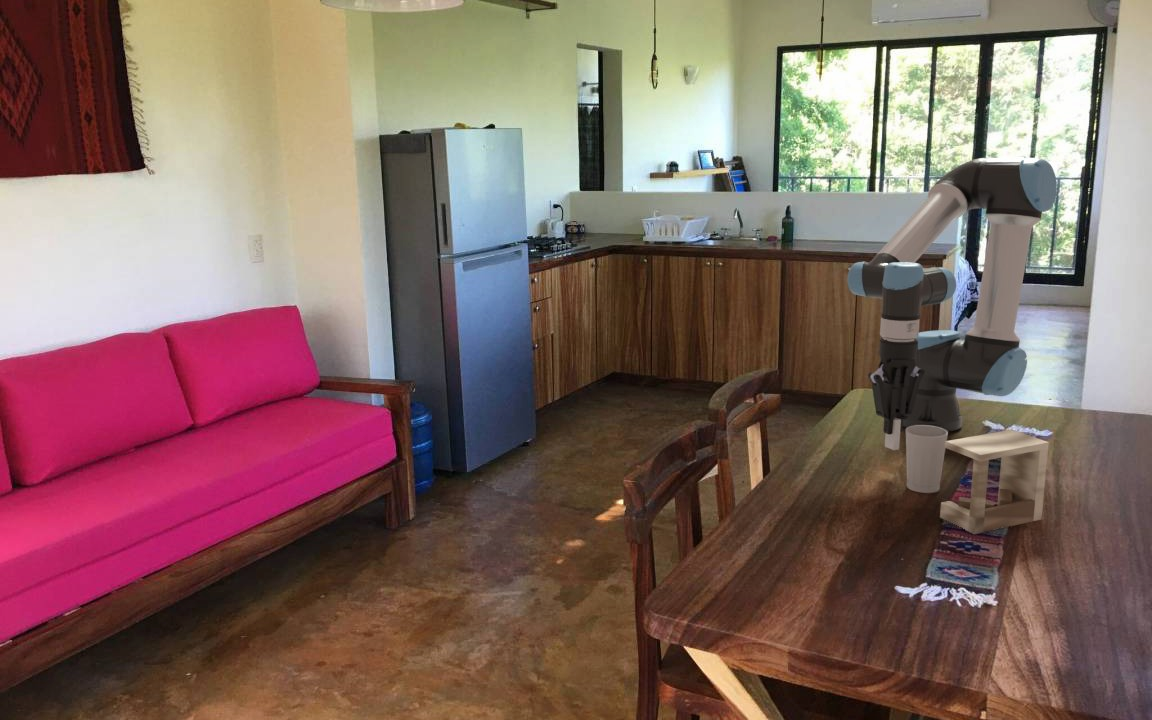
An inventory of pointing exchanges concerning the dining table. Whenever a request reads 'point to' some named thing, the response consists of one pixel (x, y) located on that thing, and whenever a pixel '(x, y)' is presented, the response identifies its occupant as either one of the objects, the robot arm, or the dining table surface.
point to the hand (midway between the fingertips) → (891, 447)
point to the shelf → (1000, 481)
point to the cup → (925, 457)
